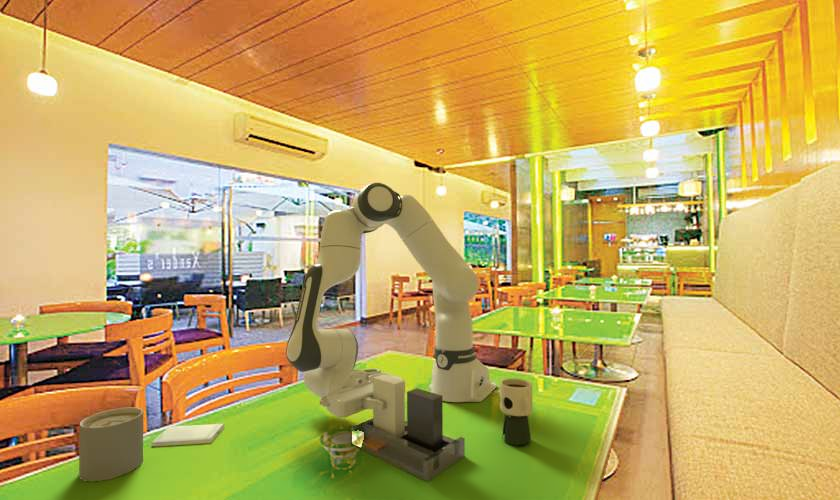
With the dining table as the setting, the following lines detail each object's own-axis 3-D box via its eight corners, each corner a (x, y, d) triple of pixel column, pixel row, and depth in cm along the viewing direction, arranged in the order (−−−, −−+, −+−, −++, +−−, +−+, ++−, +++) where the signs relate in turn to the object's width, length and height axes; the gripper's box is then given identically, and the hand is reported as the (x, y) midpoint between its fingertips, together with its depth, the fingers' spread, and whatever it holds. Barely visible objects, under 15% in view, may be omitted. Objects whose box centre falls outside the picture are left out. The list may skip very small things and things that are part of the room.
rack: (390, 426, 96) (389, 371, 96) (464, 456, 81) (464, 392, 82) (351, 444, 87) (351, 384, 87) (427, 481, 72) (427, 409, 72)
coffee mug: (132, 476, 75) (132, 423, 75) (67, 486, 71) (68, 431, 72) (155, 444, 87) (155, 399, 87) (101, 451, 84) (101, 404, 84)
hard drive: (151, 442, 86) (211, 437, 88) (169, 425, 94) (224, 422, 96) (151, 449, 86) (211, 445, 88) (169, 432, 94) (224, 429, 96)
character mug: (491, 432, 92) (491, 376, 92) (519, 429, 94) (518, 374, 94) (513, 455, 82) (512, 392, 82) (543, 451, 83) (543, 389, 84)
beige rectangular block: (382, 426, 91) (382, 374, 91) (404, 435, 86) (404, 380, 86) (373, 430, 89) (373, 377, 89) (395, 440, 84) (394, 384, 84)
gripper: (315, 387, 88) (354, 402, 79) (381, 367, 104) (421, 377, 95) (315, 415, 88) (354, 433, 79) (381, 391, 104) (421, 404, 95)
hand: (391, 402), depth 87 cm, fingers open, 3 cm apart
